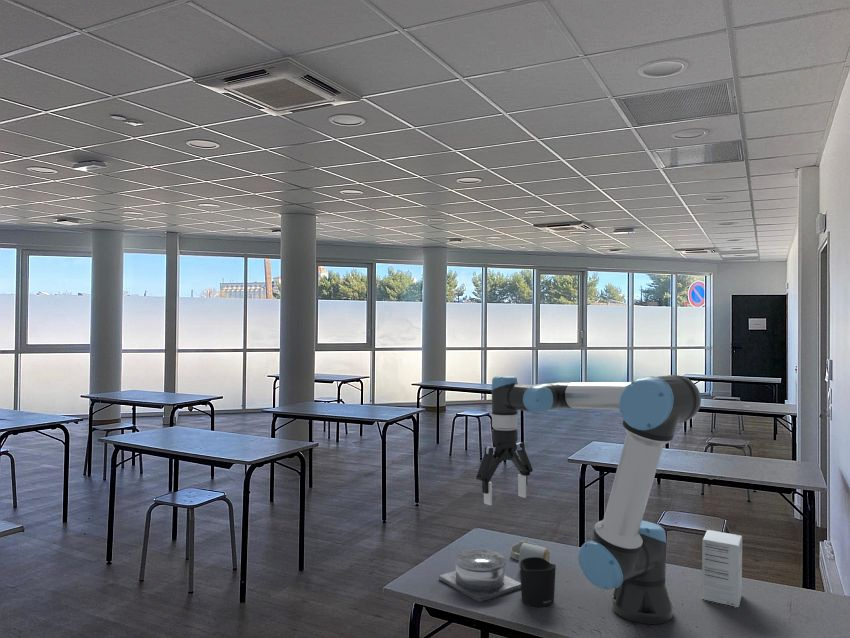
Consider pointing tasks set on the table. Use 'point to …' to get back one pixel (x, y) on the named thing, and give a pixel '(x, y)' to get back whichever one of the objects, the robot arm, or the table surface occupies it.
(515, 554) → the beige oval ring
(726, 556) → the supplement box
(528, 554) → the ceramic mug
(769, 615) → the table surface
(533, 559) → the pen holder
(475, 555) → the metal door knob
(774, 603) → the table surface
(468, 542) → the table surface
